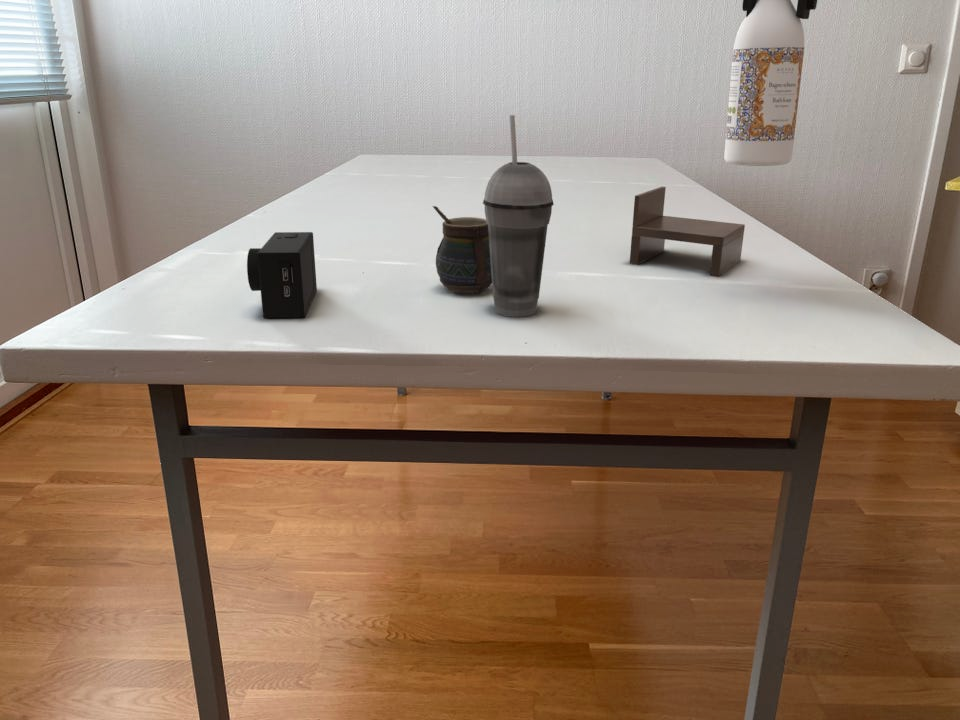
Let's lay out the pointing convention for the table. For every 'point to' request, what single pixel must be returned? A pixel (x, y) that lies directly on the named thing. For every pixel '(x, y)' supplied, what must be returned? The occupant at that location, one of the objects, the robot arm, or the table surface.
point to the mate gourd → (464, 255)
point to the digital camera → (284, 274)
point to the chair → (681, 233)
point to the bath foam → (765, 86)
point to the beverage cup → (517, 232)
